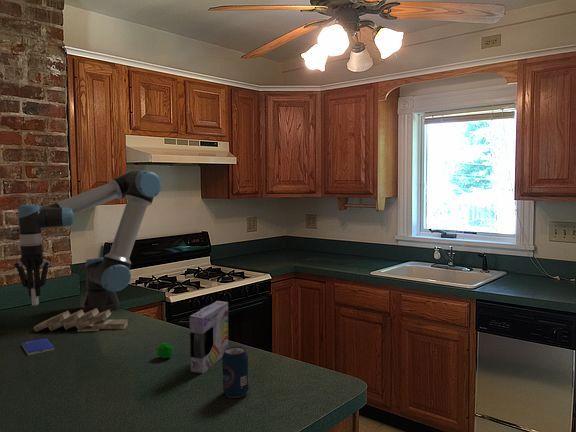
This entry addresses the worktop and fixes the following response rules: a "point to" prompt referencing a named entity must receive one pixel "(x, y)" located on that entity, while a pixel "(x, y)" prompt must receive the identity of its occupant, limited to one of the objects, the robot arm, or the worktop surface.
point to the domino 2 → (67, 320)
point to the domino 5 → (110, 324)
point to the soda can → (235, 372)
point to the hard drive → (37, 346)
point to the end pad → (88, 328)
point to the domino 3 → (82, 318)
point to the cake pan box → (208, 336)
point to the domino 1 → (51, 321)
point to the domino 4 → (94, 319)
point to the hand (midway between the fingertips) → (35, 304)
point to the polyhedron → (164, 350)
